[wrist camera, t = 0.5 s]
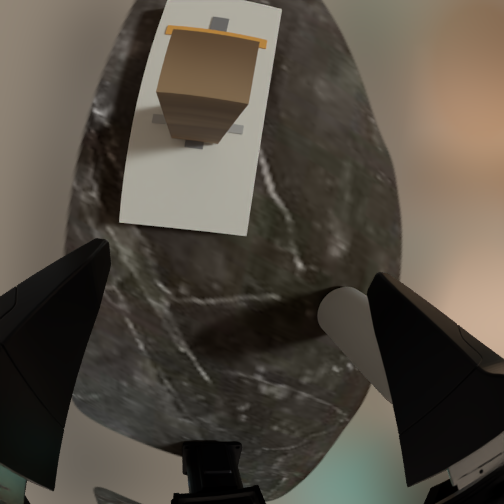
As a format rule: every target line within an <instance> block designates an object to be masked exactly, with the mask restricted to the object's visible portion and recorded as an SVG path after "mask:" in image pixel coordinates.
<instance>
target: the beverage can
mask: <svg viewBox="0 0 504 504" xmlns="http://www.w3.org/2000/svg"><path fill="white" fill-rule="evenodd" d="M317 318H318V323H319V325H320V327H321V328H322V329H323V331H324V332H325V333H326V334H327V335H328V336H329V337H330V338H331V339H332V340H333V341H334V343H335V344H336V345H337V346H338V347H339V348H340V349H341V351H342V352H343V353H344V354H345V355H346V356H347V357H348V359H349V360H350V361H351V362H352V363H353V364H354V365H355V366H356V367H357V369H358V370H359V371H360V372H361V373H362V374H363V375H364V376H365V377H366V378H367V379H368V380H369V381H370V383H371V384H372V385H373V386H374V387H375V388H376V389H377V390H378V391H379V392H380V393H381V394H382V395H383V396H384V398H385V399H386V400H387V401H389V402H390V403H391V404H392V399H391V395H390V390H389V386H388V382H387V378H386V374H385V370H384V366H383V362H382V358H381V355H380V351H379V347H378V344H377V340H376V337H375V333H374V328H373V323H372V318H371V313H370V308H369V303H368V298H367V296H366V295H364V294H363V293H361V292H360V291H358V290H356V289H355V288H353V287H342V288H338V289H335V290H333V291H332V292H330V293H328V294H327V295H326V297H325V298H324V299H323V300H322V302H321V304H320V306H319V309H318V314H317Z"/></svg>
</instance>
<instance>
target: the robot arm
mask: <svg viewBox="0 0 504 504" xmlns="http://www.w3.org/2000/svg"><path fill="white" fill-rule="evenodd" d="M110 266H111V259H110V249H109V242H108V240H106V239H98V238H96V239H94V240H92V241H90V242H88V243H87V244H85V245H83V246H81V247H79V248H78V249H76V250H74V251H72V252H71V253H69V254H67V255H66V256H64V257H62V258H60V259H59V260H57V261H55V262H54V263H52V264H50V265H49V266H47V267H46V268H44V269H42V270H41V271H39V272H37V273H36V274H34V275H32V276H31V277H29V278H28V279H26V280H25V281H23V282H21V283H20V284H18V285H17V287H14V288H12V289H11V290H9V291H8V292H6V293H5V294H3V295H2V296H0V504H30V503H29V501H28V499H27V498H26V496H25V490H26V483H27V481H30V482H32V483H34V484H36V485H39V486H41V487H44V488H46V489H49V490H51V491H54V488H55V481H56V473H57V467H58V460H59V454H60V448H61V443H62V438H63V433H64V427H65V423H66V418H67V414H68V410H69V405H70V402H71V398H72V394H73V390H74V386H75V383H76V379H77V376H78V372H79V369H80V365H81V362H82V359H83V356H84V352H85V349H86V346H87V343H88V340H89V337H90V334H91V331H92V328H93V326H94V323H95V320H96V317H97V314H98V311H99V308H100V305H101V301H102V297H103V293H104V289H105V285H106V282H107V278H108V274H109V271H110ZM367 298H368V303H369V308H370V313H371V318H372V323H373V328H374V333H375V337H376V340H377V344H378V347H379V351H380V355H381V358H382V362H383V366H384V370H385V374H386V378H387V382H388V386H389V390H390V395H391V399H392V404H393V408H394V412H395V418H396V422H397V427H398V433H399V439H400V445H401V450H402V456H403V463H404V469H405V477H406V483H407V487H410V486H412V485H415V484H418V483H420V482H422V481H425V480H427V479H429V478H431V477H434V476H436V475H438V474H440V473H442V472H444V471H446V470H447V471H448V474H449V478H450V479H448V480H446V481H444V482H442V483H440V484H438V485H436V486H434V487H432V488H430V491H429V493H428V495H427V498H426V500H425V502H424V504H504V359H503V358H502V357H500V356H499V355H498V354H496V353H495V352H493V351H492V350H491V349H490V348H488V347H487V346H485V345H484V344H483V343H481V342H480V341H479V340H477V339H476V338H475V337H473V336H472V335H471V334H469V333H468V332H467V331H465V330H464V329H463V328H462V327H460V326H459V325H457V324H456V323H455V322H454V321H453V320H451V319H450V318H449V317H447V316H446V315H445V314H443V313H442V312H441V311H439V310H438V309H437V308H436V307H434V306H433V305H431V304H430V303H429V302H427V301H426V300H425V299H423V298H422V297H421V296H419V295H418V294H416V293H415V292H414V291H412V290H411V289H410V288H408V287H407V286H405V285H404V284H403V283H401V282H400V281H398V280H397V279H396V278H394V277H393V276H391V275H390V274H388V273H383V272H379V273H377V274H376V275H375V277H374V279H373V281H372V283H371V285H370V287H369V289H368V291H367ZM241 450H242V444H241V443H239V442H233V443H191V442H185V443H183V445H182V459H183V460H182V462H183V474H184V475H187V476H188V486H189V493H185V494H179V493H174V496H173V499H172V500H171V504H266V503H265V500H264V498H263V496H262V493H261V491H260V488H259V486H258V485H254V486H252V487H246V488H243V484H242V481H241V477H240V473H239V469H238V463H239V459H240V454H241Z"/></svg>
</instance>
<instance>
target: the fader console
mask: <svg viewBox="0 0 504 504" xmlns="http://www.w3.org/2000/svg"><path fill="white" fill-rule="evenodd" d="M281 12H282V9H279V8H275V7H271V6H267V5H263V4H258V3H254V2H249V1H244V0H168V1H167V3H166V6H165V9H164V11H163V14H162V17H161V20H160V23H159V26H158V29H157V32H156V35H155V38H154V41H153V44H152V47H151V51H150V54H149V57H148V61H147V65H146V68H145V72H144V76H143V80H142V84H141V88H140V92H139V96H138V100H137V105H136V109H135V114H134V119H133V124H132V129H131V135H130V140H129V146H128V152H127V158H126V165H125V172H124V180H123V188H122V196H121V206H120V217H119V223H130V224H140V225H149V226H159V227H169V228H178V229H188V230H197V231H206V232H215V233H224V234H233V235H242V236H246V235H247V228H248V222H249V215H250V208H251V202H252V195H253V188H254V182H255V175H256V169H257V162H258V156H259V149H260V143H261V136H262V130H263V123H264V117H265V111H266V104H267V98H268V92H269V86H270V79H271V73H272V67H273V61H274V54H275V48H276V42H277V36H278V30H279V24H280V18H281ZM173 29H179V30H190V31H199V32H207V33H214V34H221V35H227V36H233V37H238V38H243V39H248V40H253V41H258V42H260V43H259V49H258V54H257V59H256V65H255V70H254V76H253V82H252V87H251V93H250V99H249V104H248V106H247V107H246V108H245V109H244V111H243V112H242V113H241V114H240V116H239V117H238V118H237V119H236V121H235V122H234V123H233V125H232V126H231V127H230V129H229V130H228V131H227V133H226V134H225V135H224V136H223V138H222V139H221V141H220V142H219V143H218V144H214V143H207V142H200V141H192V140H183V139H174V138H171V135H170V132H169V129H168V126H167V123H166V121H165V118H164V115H163V112H162V109H161V105H160V102H159V99H158V96H157V93H156V90H157V85H158V81H159V77H160V73H161V69H162V65H163V62H164V58H165V54H166V51H167V47H168V44H169V41H170V37H171V34H172V31H173Z"/></svg>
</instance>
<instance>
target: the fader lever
mask: <svg viewBox="0 0 504 504" xmlns="http://www.w3.org/2000/svg"><path fill="white" fill-rule="evenodd" d="M259 43H260V42H258V41H253V40H248V39H243V38H238V37H233V36H227V35H221V34H214V33H207V32H199V31H190V30H179V29H173V31H172V34H171V37H170V41H169V44H168V47H167V51H166V54H165V58H164V62H163V65H162V69H161V73H160V77H159V81H158V85H157V90H156V93H157V96H158V99H159V102H160V105H161V109H162V112H163V115H164V118H165V121H166V123H167V126H168V129H169V132H170V135H171V138H174V139H183V140H192V141H200V142H207V143H214V144H218V143H219V142H220V141H221V139H222V138H223V136H224V135H225V134H226V133H227V131H228V130H229V129H230V127H231V126H232V125H233V123H234V122H235V121H236V119H237V118H238V117H239V116H240V114H241V113H242V112H243V111H244V109H245V108H246V107H247V106H248V104H249V99H250V93H251V87H252V82H253V76H254V70H255V65H256V59H257V54H258V49H259Z"/></svg>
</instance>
